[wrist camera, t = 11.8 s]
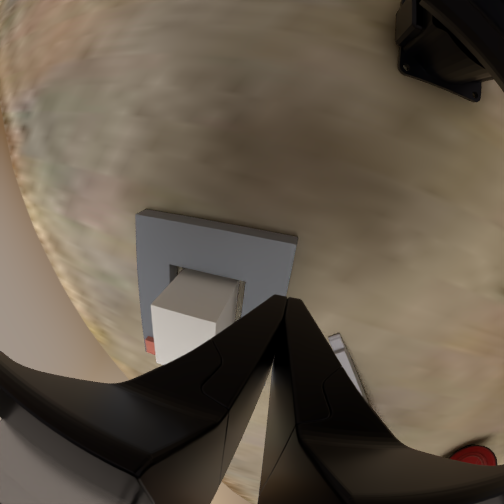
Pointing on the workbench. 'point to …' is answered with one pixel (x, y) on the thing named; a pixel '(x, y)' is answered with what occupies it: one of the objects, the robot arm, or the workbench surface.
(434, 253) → the workbench surface
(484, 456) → the headphones
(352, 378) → the caliper
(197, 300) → the plug
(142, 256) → the socket
